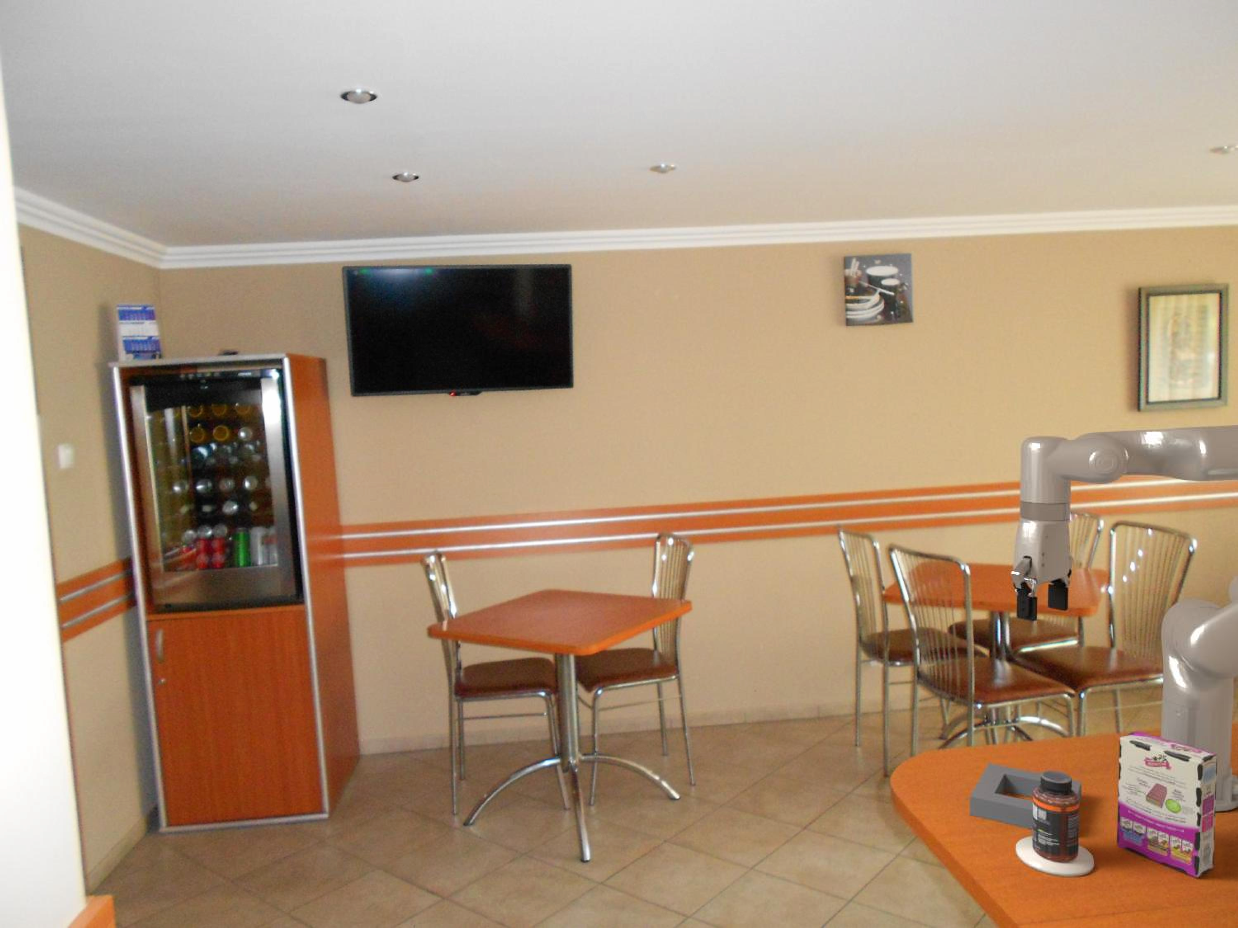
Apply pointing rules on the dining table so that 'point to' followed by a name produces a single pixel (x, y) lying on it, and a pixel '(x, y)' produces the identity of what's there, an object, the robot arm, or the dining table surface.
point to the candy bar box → (1167, 802)
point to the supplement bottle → (1055, 817)
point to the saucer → (1065, 869)
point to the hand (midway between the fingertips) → (1042, 614)
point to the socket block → (1005, 808)
